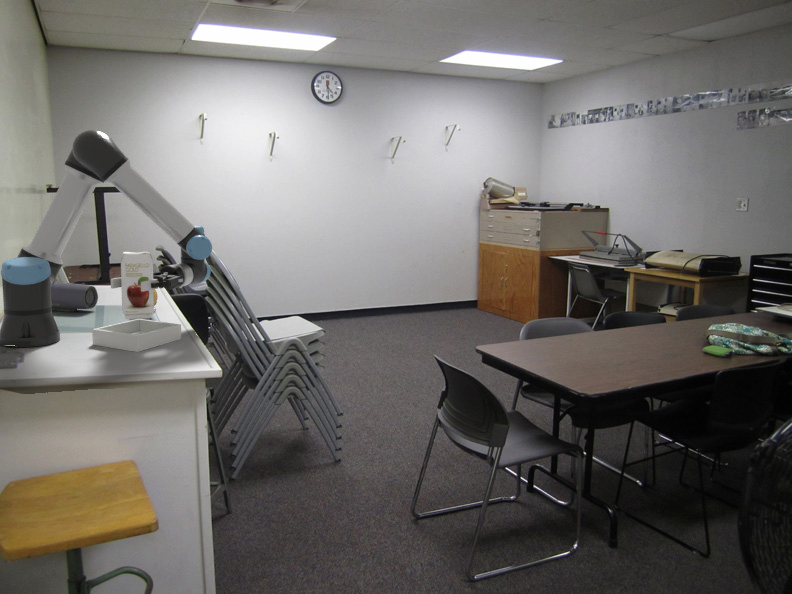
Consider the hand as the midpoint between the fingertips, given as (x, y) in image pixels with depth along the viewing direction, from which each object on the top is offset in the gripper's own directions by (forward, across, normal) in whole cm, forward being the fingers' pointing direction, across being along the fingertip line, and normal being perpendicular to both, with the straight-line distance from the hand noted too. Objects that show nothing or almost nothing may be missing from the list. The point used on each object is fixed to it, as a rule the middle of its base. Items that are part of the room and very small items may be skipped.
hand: (126, 285), depth 170 cm
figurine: (-33, +21, -18) cm, 43 cm away
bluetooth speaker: (-31, +53, -18) cm, 64 cm away
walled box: (-4, 0, -18) cm, 18 cm away
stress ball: (-45, +30, -18) cm, 57 cm away
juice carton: (-4, 0, -10) cm, 11 cm away
